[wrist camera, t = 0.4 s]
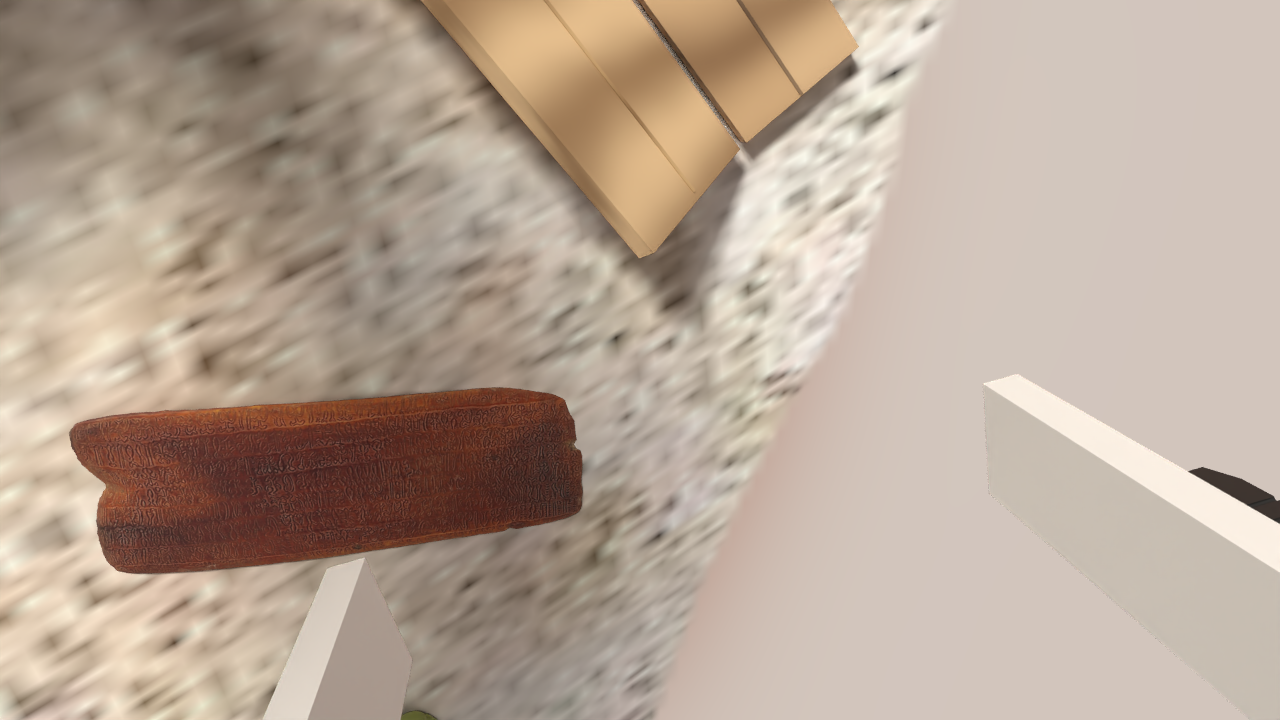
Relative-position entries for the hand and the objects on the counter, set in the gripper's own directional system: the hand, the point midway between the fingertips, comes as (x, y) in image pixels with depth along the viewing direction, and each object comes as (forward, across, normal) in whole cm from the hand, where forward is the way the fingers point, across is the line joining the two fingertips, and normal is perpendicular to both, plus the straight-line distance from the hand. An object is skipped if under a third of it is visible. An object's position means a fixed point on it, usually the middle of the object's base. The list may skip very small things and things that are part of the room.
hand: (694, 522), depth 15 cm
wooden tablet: (+26, -17, -8) cm, 32 cm away
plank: (+22, 0, +13) cm, 26 cm away
